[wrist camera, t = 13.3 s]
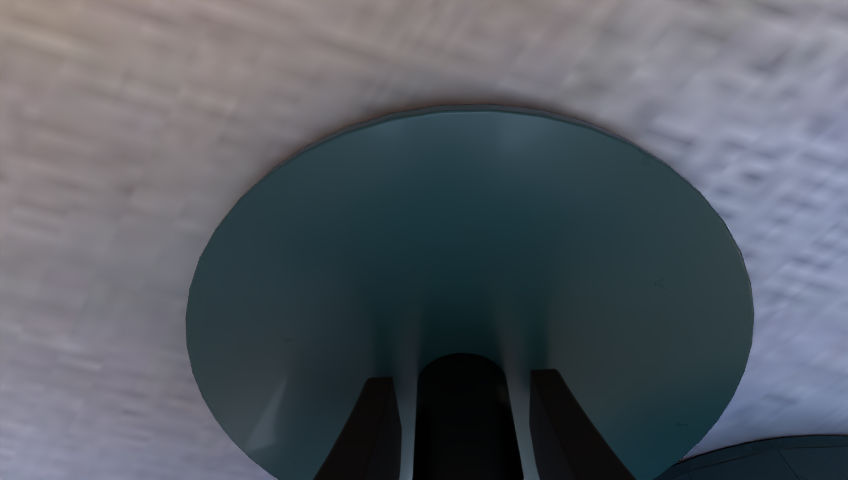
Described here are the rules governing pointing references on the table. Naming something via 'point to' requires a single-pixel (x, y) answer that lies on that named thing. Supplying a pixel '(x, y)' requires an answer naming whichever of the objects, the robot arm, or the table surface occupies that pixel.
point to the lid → (469, 294)
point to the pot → (770, 461)
